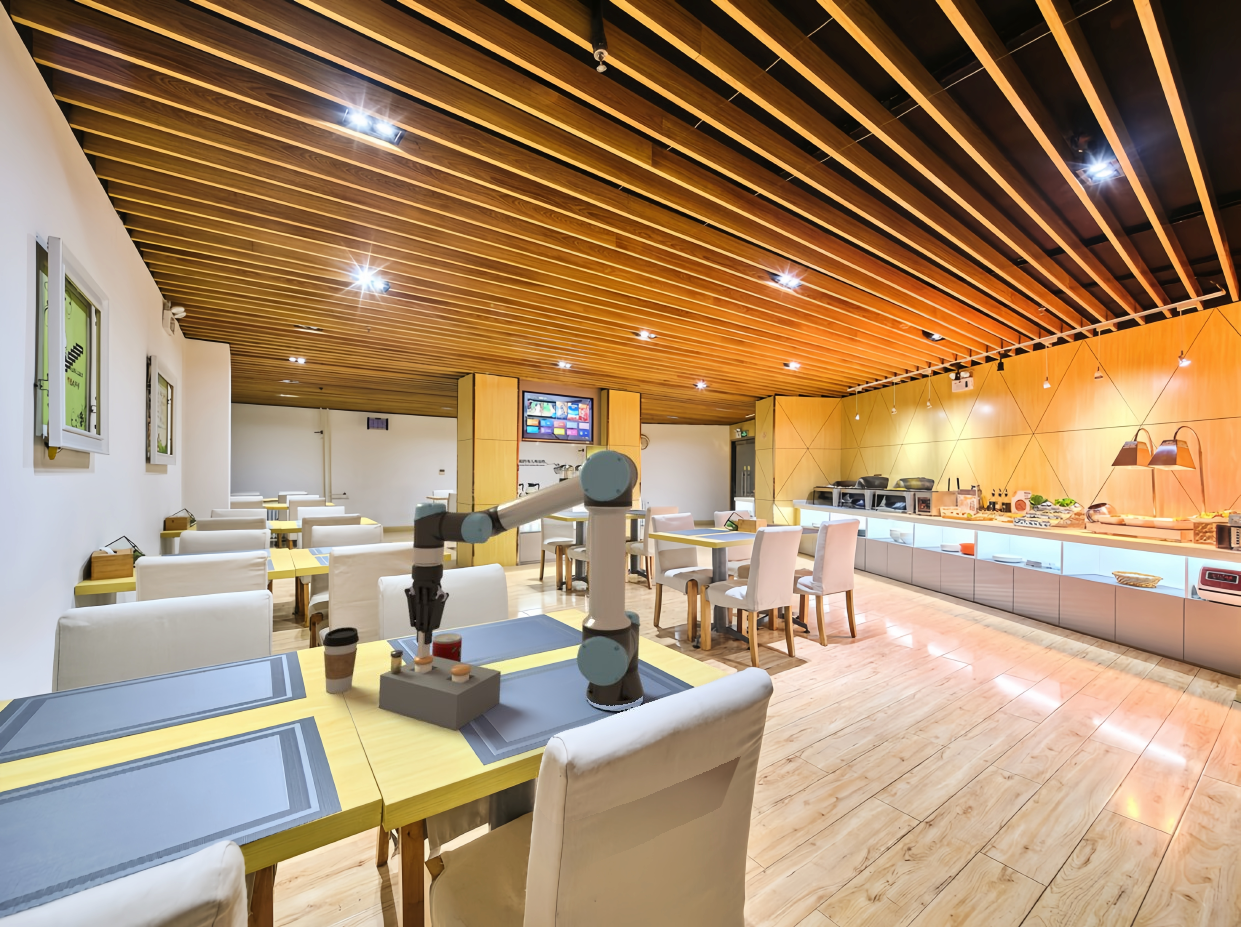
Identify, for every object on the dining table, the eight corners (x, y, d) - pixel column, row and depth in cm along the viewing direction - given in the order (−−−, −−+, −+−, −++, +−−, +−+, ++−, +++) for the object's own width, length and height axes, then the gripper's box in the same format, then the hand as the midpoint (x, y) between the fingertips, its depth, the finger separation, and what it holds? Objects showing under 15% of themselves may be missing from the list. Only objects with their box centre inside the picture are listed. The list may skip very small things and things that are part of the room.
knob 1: (436, 687, 132) (437, 656, 132) (422, 694, 128) (423, 661, 128) (422, 684, 134) (423, 653, 134) (408, 690, 130) (410, 658, 130)
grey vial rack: (499, 703, 131) (500, 671, 131) (455, 730, 116) (457, 695, 116) (427, 684, 140) (428, 655, 141) (378, 707, 126) (380, 674, 126)
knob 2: (473, 699, 127) (474, 666, 127) (460, 706, 123) (461, 672, 123) (458, 695, 129) (460, 663, 129) (445, 702, 125) (447, 669, 125)
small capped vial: (404, 671, 129) (405, 651, 129) (396, 675, 126) (396, 654, 126) (396, 669, 130) (396, 649, 130) (387, 673, 127) (388, 652, 127)
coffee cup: (363, 683, 140) (366, 628, 140) (343, 696, 131) (346, 637, 132) (334, 681, 140) (337, 626, 141) (312, 694, 132) (315, 635, 132)
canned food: (455, 681, 143) (456, 642, 143) (426, 680, 143) (428, 640, 143) (464, 671, 151) (465, 633, 151) (436, 670, 151) (438, 632, 151)
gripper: (458, 564, 132) (453, 656, 132) (419, 558, 138) (415, 647, 137) (436, 568, 125) (432, 665, 125) (397, 562, 131) (392, 656, 130)
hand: (423, 656), depth 131 cm, fingers closed
